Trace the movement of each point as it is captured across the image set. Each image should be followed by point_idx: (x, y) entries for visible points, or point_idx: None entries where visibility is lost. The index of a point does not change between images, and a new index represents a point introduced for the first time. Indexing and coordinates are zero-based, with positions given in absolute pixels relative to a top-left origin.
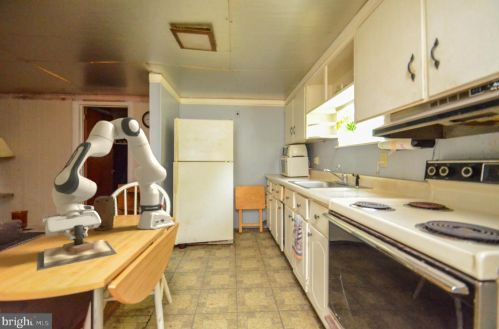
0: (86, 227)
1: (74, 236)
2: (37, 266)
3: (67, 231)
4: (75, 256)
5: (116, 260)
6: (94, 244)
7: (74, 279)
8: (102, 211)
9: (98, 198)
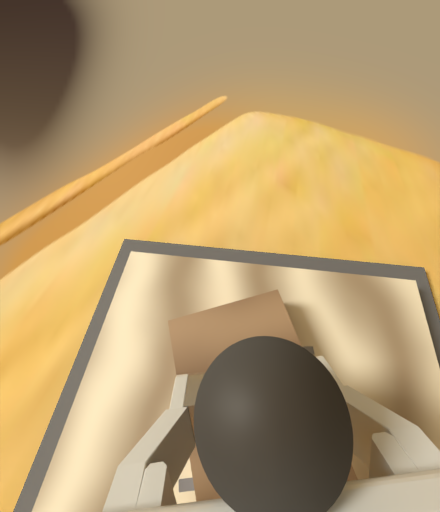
0: (130, 495)
1: None
2: (438, 321)
3: (415, 443)
4: (280, 274)
5: (158, 196)
6: None
7: (295, 147)
8: None
9: None
